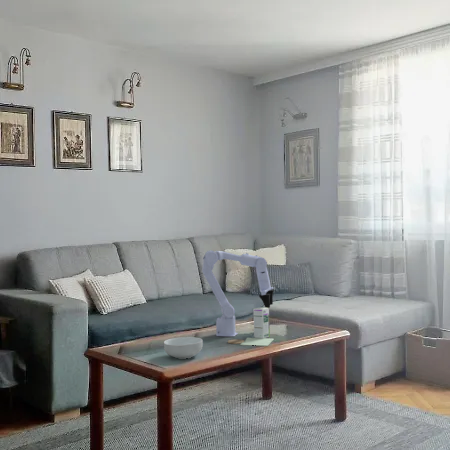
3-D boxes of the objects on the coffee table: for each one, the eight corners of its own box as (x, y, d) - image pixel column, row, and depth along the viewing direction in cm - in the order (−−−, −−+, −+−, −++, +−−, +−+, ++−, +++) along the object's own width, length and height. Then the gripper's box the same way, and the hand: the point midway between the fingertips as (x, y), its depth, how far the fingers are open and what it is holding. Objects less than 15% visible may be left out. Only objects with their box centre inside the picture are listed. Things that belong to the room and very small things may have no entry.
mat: (240, 345, 270) (240, 344, 270) (247, 338, 286) (247, 337, 286) (267, 346, 267) (267, 345, 267) (273, 339, 282) (273, 338, 282)
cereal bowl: (175, 351, 260) (175, 335, 260) (209, 353, 254) (208, 337, 254) (156, 360, 245) (156, 343, 245) (192, 362, 238) (191, 345, 238)
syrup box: (263, 338, 282) (263, 308, 283) (253, 337, 286) (253, 307, 287) (269, 337, 287) (269, 307, 287) (260, 336, 290) (259, 307, 291)
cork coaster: (225, 343, 275) (225, 342, 275) (230, 340, 282) (230, 339, 282) (242, 344, 272) (242, 343, 272) (246, 340, 280) (246, 339, 280)
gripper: (268, 281, 289) (274, 308, 289) (273, 276, 303) (279, 302, 303) (255, 283, 290) (260, 310, 291) (260, 278, 304) (266, 304, 305)
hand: (269, 306), depth 297 cm, fingers open, 7 cm apart
